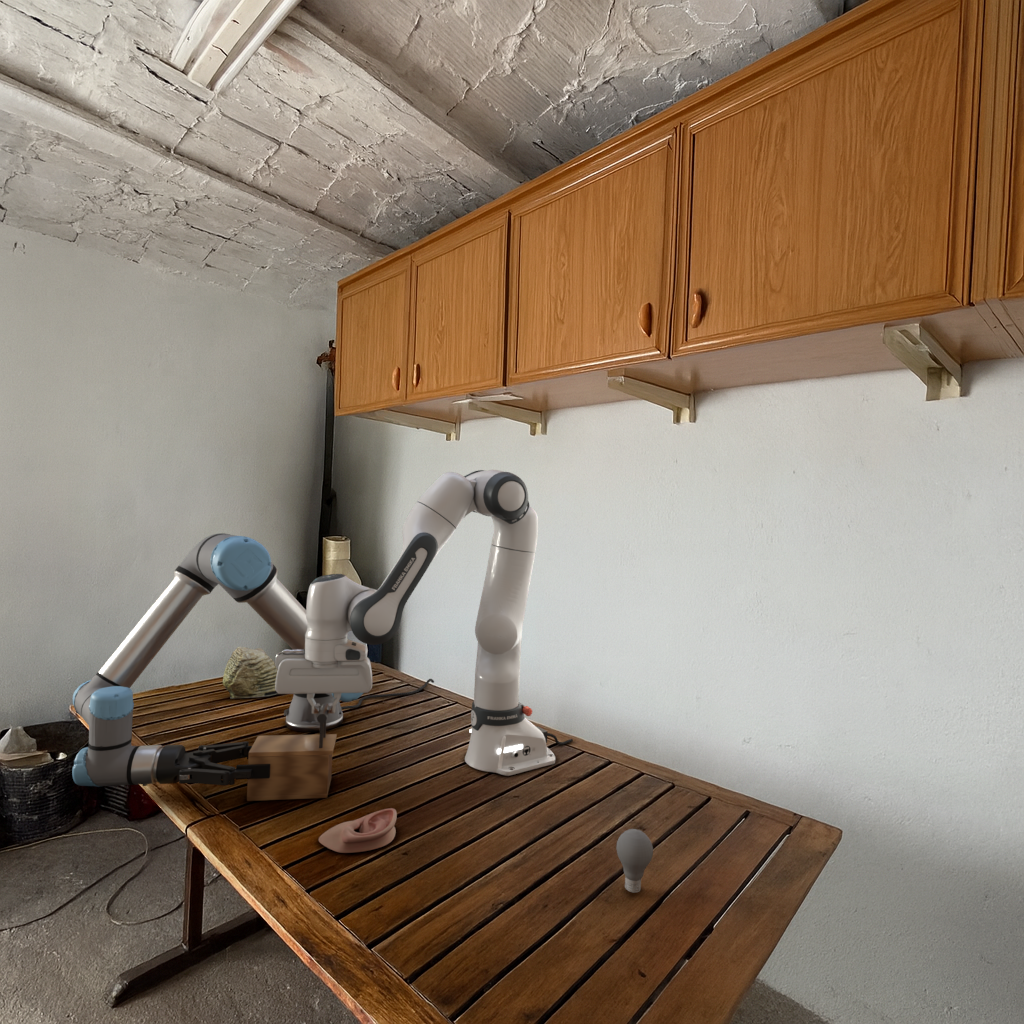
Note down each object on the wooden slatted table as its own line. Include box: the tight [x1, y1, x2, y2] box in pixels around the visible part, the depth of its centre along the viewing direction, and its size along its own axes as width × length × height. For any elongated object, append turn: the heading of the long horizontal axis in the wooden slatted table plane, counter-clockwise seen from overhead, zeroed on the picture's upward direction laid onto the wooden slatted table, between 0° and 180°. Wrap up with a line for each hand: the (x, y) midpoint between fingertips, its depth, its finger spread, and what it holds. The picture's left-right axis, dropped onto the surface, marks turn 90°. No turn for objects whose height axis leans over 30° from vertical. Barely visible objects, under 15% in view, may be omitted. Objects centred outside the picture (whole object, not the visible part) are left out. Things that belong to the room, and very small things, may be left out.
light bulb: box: [615, 828, 654, 894], centre depth 106 cm, size 6×6×10 cm
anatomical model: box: [318, 807, 398, 854], centre depth 118 cm, size 13×4×12 cm
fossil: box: [222, 646, 279, 699], centre depth 198 cm, size 9×18×15 cm, turn 132°
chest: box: [246, 755, 333, 802], centre depth 136 cm, size 16×9×9 cm, turn 101°
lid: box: [248, 704, 338, 757], centre depth 136 cm, size 17×9×8 cm, turn 101°
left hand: (274, 761), depth 136 cm, fingers closed on chest, 9 cm apart
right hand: (323, 712), depth 137 cm, fingers closed on lid, 2 cm apart
